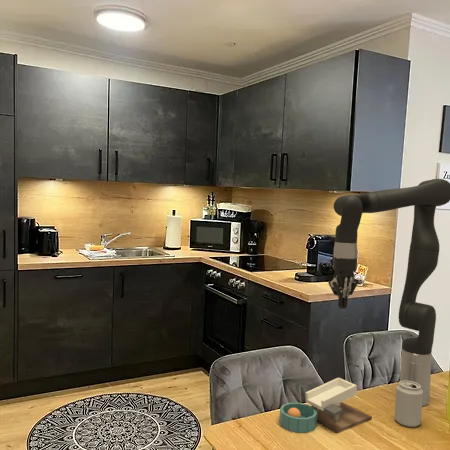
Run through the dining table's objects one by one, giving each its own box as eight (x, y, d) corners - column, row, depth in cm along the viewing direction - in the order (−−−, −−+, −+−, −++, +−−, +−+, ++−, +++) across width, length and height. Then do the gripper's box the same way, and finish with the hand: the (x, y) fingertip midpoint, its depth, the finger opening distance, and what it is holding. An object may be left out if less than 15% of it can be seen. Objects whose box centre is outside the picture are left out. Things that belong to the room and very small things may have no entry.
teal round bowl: (297, 412, 144) (298, 399, 143) (323, 426, 135) (324, 413, 135) (272, 420, 137) (273, 407, 137) (297, 436, 129) (298, 422, 129)
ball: (282, 413, 137) (288, 424, 134) (289, 404, 136) (296, 415, 133) (291, 414, 139) (298, 425, 136) (299, 405, 138) (305, 416, 135)
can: (423, 430, 135) (425, 390, 135) (396, 426, 137) (398, 387, 136) (418, 418, 143) (420, 380, 142) (392, 415, 144) (394, 377, 144)
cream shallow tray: (338, 386, 149) (338, 377, 148) (367, 399, 140) (367, 389, 139) (305, 401, 140) (305, 392, 140) (334, 416, 131) (334, 406, 131)
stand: (337, 402, 152) (338, 384, 151) (371, 419, 141) (372, 400, 140) (302, 414, 142) (303, 395, 142) (336, 433, 131) (337, 412, 131)
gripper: (349, 254, 158) (346, 303, 159) (322, 255, 151) (320, 308, 152) (367, 256, 152) (364, 308, 153) (340, 258, 144) (338, 313, 145)
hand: (342, 308), depth 152 cm, fingers closed
